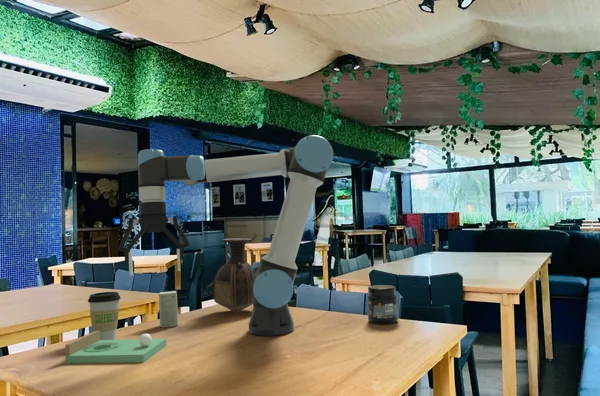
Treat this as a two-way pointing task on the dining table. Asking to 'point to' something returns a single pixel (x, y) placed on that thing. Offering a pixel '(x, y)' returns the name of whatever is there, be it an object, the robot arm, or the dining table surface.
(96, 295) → the coffee cup
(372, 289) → the supplement container
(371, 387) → the dining table surface
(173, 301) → the skincare box
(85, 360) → the putting platform
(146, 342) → the ball
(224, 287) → the vase
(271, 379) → the dining table surface
